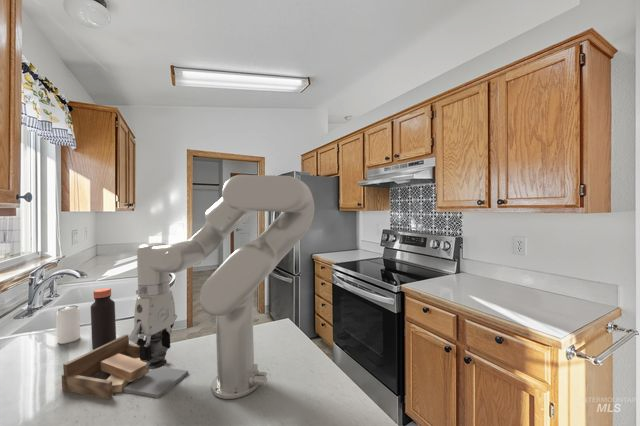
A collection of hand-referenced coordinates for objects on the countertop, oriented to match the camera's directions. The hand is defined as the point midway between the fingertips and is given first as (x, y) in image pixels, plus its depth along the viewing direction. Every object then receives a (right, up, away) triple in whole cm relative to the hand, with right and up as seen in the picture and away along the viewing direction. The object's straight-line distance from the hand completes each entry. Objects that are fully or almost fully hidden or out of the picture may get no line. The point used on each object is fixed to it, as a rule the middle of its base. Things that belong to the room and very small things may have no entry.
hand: (155, 353), depth 80 cm
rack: (-13, -8, +4) cm, 16 cm away
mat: (0, -8, 0) cm, 8 cm away
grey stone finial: (0, -3, 0) cm, 3 cm away
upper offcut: (-10, -6, +3) cm, 12 cm away
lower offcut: (-11, -9, +3) cm, 14 cm away
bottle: (-30, -8, +22) cm, 38 cm away
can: (-47, -9, +27) cm, 55 cm away
